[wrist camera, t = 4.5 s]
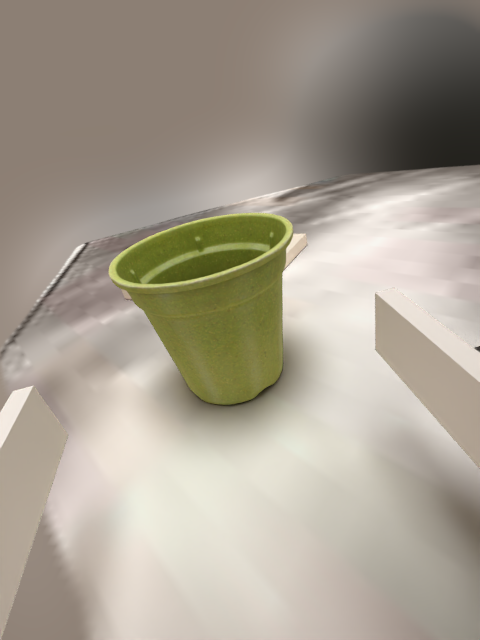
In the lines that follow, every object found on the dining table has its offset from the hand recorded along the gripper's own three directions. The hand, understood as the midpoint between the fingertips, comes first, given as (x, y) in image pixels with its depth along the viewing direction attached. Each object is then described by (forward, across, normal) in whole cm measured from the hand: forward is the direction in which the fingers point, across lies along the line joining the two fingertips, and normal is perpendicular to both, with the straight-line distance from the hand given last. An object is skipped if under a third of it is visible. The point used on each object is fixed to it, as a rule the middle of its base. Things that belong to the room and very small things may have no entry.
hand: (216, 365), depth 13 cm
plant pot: (+7, 0, -6) cm, 9 cm away
